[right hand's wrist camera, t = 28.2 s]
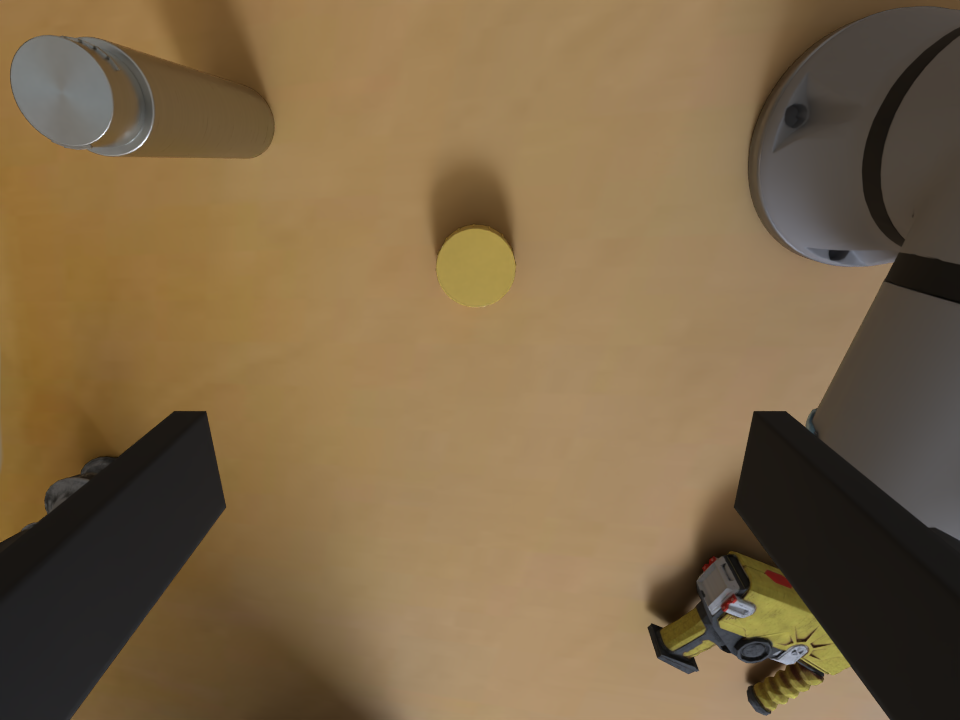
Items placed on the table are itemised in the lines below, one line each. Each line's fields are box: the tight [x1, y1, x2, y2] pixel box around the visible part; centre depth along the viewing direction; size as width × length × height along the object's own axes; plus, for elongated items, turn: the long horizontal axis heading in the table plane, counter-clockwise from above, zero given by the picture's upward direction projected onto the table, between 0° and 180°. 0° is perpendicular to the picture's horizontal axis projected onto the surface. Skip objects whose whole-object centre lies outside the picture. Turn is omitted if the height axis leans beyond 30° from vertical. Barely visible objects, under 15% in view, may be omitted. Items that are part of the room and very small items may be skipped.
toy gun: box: [648, 551, 851, 716], centre depth 48 cm, size 5×24×15 cm
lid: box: [436, 224, 516, 307], centre depth 36 cm, size 6×6×2 cm
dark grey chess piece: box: [22, 457, 116, 531], centre depth 38 cm, size 6×6×12 cm
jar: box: [10, 35, 274, 159], centre depth 27 cm, size 4×4×16 cm
